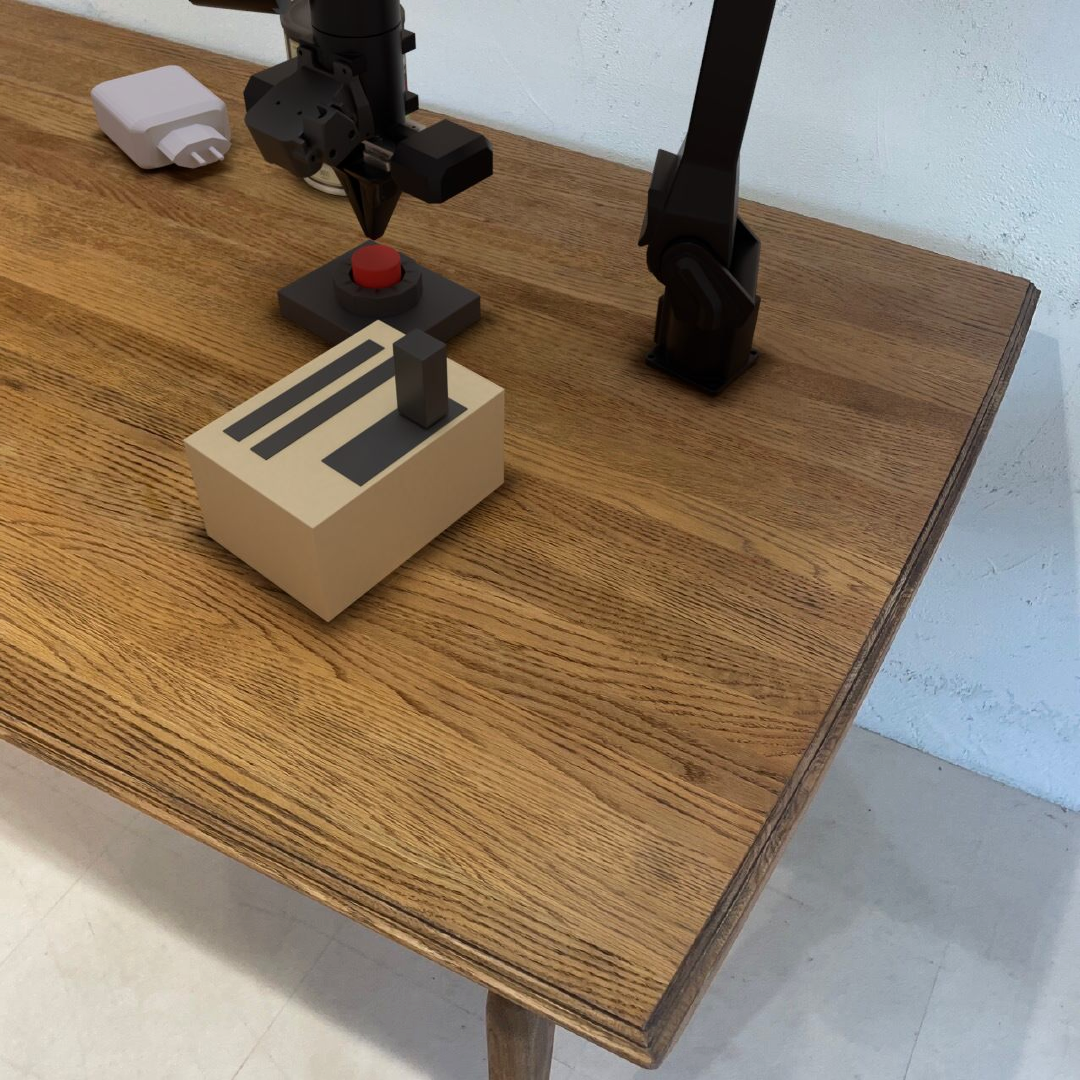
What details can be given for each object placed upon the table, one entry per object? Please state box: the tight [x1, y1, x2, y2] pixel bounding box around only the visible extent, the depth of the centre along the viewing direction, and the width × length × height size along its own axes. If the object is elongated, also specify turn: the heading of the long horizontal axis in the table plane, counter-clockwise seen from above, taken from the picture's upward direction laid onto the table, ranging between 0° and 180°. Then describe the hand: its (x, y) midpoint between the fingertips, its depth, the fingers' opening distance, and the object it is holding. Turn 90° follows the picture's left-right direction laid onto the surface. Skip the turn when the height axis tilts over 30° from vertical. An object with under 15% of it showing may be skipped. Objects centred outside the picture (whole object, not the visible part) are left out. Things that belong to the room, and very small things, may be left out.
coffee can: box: [279, 0, 410, 197], centre depth 100 cm, size 10×10×14 cm
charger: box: [90, 64, 233, 170], centre depth 104 cm, size 5×9×15 cm
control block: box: [276, 239, 482, 347], centre depth 87 cm, size 12×10×4 cm
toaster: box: [182, 320, 506, 623], centre depth 71 cm, size 11×16×8 cm
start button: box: [352, 244, 401, 289], centre depth 86 cm, size 4×4×2 cm
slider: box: [392, 329, 449, 428], centre depth 66 cm, size 2×2×5 cm
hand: (374, 236), depth 84 cm, fingers closed
